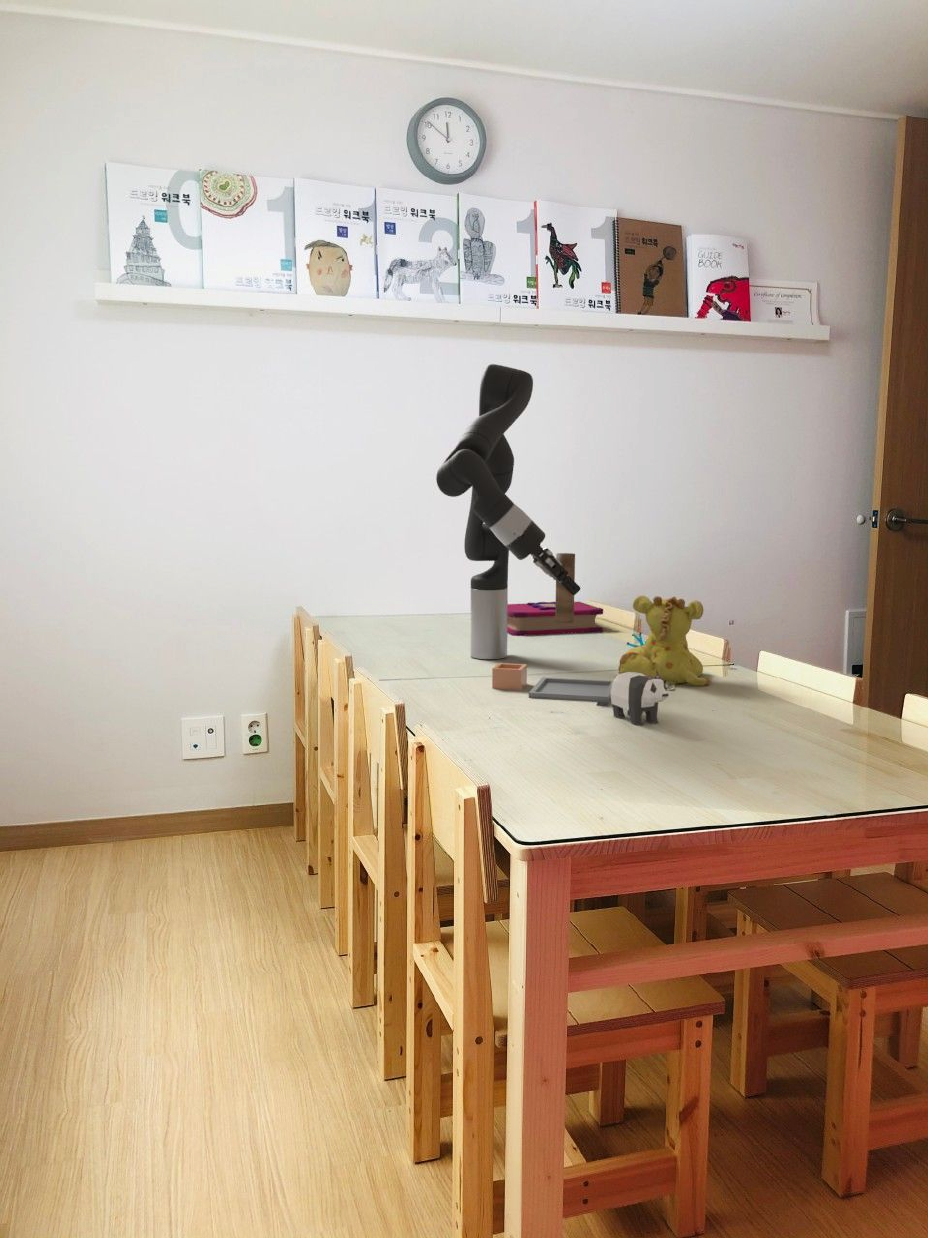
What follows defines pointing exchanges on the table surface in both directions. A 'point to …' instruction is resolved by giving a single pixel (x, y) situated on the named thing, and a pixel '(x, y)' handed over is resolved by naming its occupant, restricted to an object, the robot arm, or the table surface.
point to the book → (550, 619)
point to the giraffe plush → (666, 643)
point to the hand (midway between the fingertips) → (574, 590)
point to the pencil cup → (509, 676)
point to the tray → (573, 690)
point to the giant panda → (637, 696)
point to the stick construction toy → (638, 641)
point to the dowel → (565, 591)
